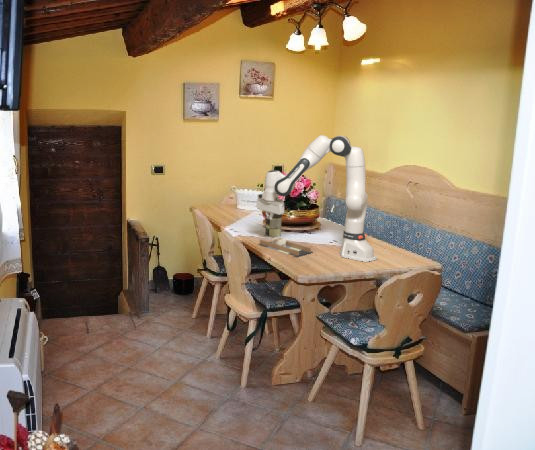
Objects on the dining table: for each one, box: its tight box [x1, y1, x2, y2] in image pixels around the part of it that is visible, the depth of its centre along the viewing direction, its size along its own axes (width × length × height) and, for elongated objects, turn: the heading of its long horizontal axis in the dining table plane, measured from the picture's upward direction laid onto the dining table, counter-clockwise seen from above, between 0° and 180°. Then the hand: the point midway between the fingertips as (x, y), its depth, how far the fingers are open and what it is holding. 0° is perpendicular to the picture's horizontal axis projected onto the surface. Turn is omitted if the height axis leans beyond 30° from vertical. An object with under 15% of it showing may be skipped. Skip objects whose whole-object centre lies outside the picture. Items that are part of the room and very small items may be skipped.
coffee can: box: [264, 213, 283, 238], centre depth 353 cm, size 10×10×14 cm
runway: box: [257, 236, 314, 258], centre depth 323 cm, size 30×16×4 cm, turn 47°
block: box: [271, 236, 287, 247], centre depth 326 cm, size 6×6×4 cm
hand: (269, 219), depth 329 cm, fingers closed
